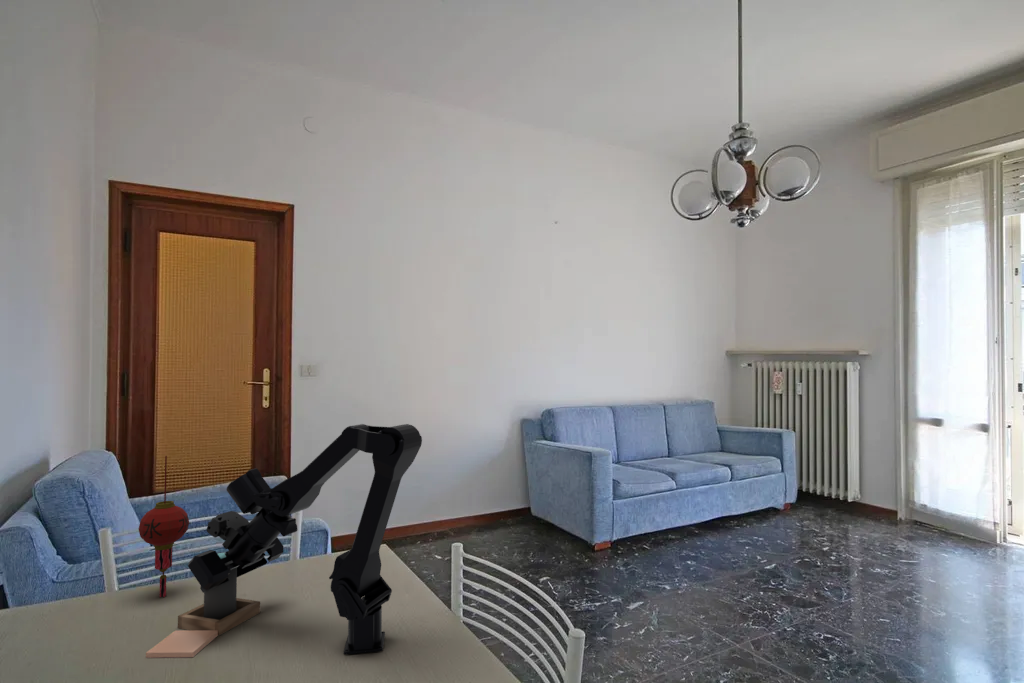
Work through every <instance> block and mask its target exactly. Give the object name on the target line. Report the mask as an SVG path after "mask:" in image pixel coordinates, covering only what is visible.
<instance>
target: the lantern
mask: <svg viewBox="0 0 1024 683" xmlns="http://www.w3.org/2000/svg"><path fill="white" fill-rule="evenodd" d="M164 458H165V459H164V460H165V461H164V463H165V464H164V498H163V499H164V500H163V501H159V502H156V503H155V506H154V507H153V508H152V509H150V510H149V511H147V512H145V514H144V515H143V516H142V518H141V519H140V522H139V525H138V533H139V538H141V540H143V541H144V542H145V543H147V544H148V545H152V546H153V548H154V569H155V570H157V571H159V572H161V573H162V575H160V577H159V596H158V597H159V598H160V597H163V598H165V596H166V597H167V575H166V574H165V572H167V570H168V569H169V568H172V566H173V548H174V545H175V543H176V542H177V541H179V540H180V539H181V538H182V537H183V536H184V535H185V534H186V532H187V531H188V530H189V526H190V520H189V514H188V513H187V512H186V510H185V509H183V507H181V506H177V505H176V503H175V501H174V500H167V467H168V466H167V464H168V463H167V461H168V460H167V459H168V456H167V455H165V456H164Z"/></svg>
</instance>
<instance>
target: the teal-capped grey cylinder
mask: <svg viewBox="0 0 1024 683" xmlns="http://www.w3.org/2000/svg"><path fill="white" fill-rule="evenodd" d="M217 554H218V555H219V557H220V558H221V559H222V558H225V557H226V556H225V552H220V553H217ZM227 578H228V579H229V581H228V582H226V583H224V584H221V585H219V586H217V587H215V588H213V589H211V590H208V591H206V592H204V593H203V604H204V618H210V619H216V620H221V619H223V618H225V617H226V616H228V615H230V614H232V613H234V612H236V598H237V588H238V587H237V586H238V584H237V583H238V582H237V580H238V577H237V567H236V568H233V569H231V572H230V574H228V577H227Z"/></svg>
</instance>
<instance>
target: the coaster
mask: <svg viewBox="0 0 1024 683" xmlns="http://www.w3.org/2000/svg"><path fill="white" fill-rule="evenodd" d="M218 636H219V635H218V631H216V630H192V631H191V630H174V631H173V632H171V633H170V634H168V635H167V636H166V637H165V638H163V639H162V640H160V642H157V644H155V645H154V646H153V647H152V648H150V649H148V650H147V651H146V652H145V658H149V659H150V658H151V659H152V658H194V657H195V656H196V655H198V653H200V652H201V651H202V650H204V648H206V647H207V645H209V643H212V641H213V640H215V639H216V637H218Z"/></svg>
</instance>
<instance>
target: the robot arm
mask: <svg viewBox="0 0 1024 683" xmlns="http://www.w3.org/2000/svg"><path fill="white" fill-rule="evenodd" d="M422 443H423V437H422V435H421V433H420V431H419V430H418V428H416V426H414V425H413V424H409V423H405V424H399V425H394V426H378V425H368V424H365V423H364V424H363V423H361V424H356V425H355V424H354V425H349V426H347V427H345V428H344V429H343V430H342V432H341V433H340V435H339V436H337V437H336V439H334V440H333V441H332V442H331V443H330V444H329V445H328V446H327V447H326V448H325V449H323V451H321V452H320V453H319V454H318V455H317V456H316V457H315V458H314V459H313V460H312V461H311V462H310V463H308V465H307V466H306V467H305V468H304V469H303V470H301V471H299V472H298V473H296V474H294V475H292V476H290V477H288V478H286V479H285V480H283V481H281V482H280V483H278V484H277V485H275V486H274V487H271V486H270V485H269V484H268V482H267V481H266V480H265V478H264V477H263V475H262V474H261V472H260V470H259V469H258V468H257V467H256V468H252V469H248V470H247V472H246V473H244V474H242V475H240V476H239V477H237V478H236V479H235V480H232V481H231V482H230V483H228V485H227V487H226V492H227V493H228V495H229V496H230V497H231V499H232V500H233V501H234V502H235V504H236V505H237V507H238V508H239V510H240V511H241V513H242V514H243V515H246V514H250V515H255V516H254V517H252V519H251V520H250V521H249V519H247V518H245V517H244V516H243V515H241V514H240V513H238V512H237V511H234V510H230V511H226V512H222V513H220V514H217V515H216V516H214V517H212V518H211V520H210V521H209V522H207V526H206V532H207V533H208V534H209V535H210V536H212V537H213V538H217V537H218V538H220V539H222V540H223V543H222V544H221V545H222V547H223V548H224V549H225V550H227V551H226V552H224V553H225V556H226V557H225V558H222V559H221V558H220V557H219V555H218V554H219V553H217V551H216V550H214V549H213V550H211V549H209V550H206V551H204V552H201V553H198V554H195V555H194V556H193V557H192V558H191V559H190V560H189V562H188V564H187V567H188V568H189V570H190V572H191V573H192V575H193V576H194V578H195V579H196V580H197V582H198V584H199V585H200V591H201V592H202V593H203V594H204V592H206V591H208V590H211V589H213V588H215V587H217V586H219V585H221V584H224V583H226V582H228V581H229V579H228V578H227V577H228V574H230V572H231V569H233V568H236V567H237V578H240V577H241V576H243V575H245V574H248V573H250V572H252V571H255V570H256V569H259V568H261V567H264V566H265V565H267V564H268V562H269V563H271V562H272V561H275V560H277V559H279V558H280V557H281V556H282V555H283V553H284V545H283V543H282V541H280V539H279V538H278V537H279V536H280V535H281V536H282V537H286V536H289V535H291V534H293V533H294V534H295V533H297V531H298V525H297V519H296V517H295V518H294V517H292V516H291V515H293V514H296V513H298V512H301V511H304V510H306V509H307V510H308V509H309V508H310V507H311V506H312V505H313V503H314V502H315V501H316V499H317V498H318V496H319V495H320V492H321V489H322V487H323V486H324V485H325V483H327V481H329V480H330V479H331V477H333V476H334V475H335V474H336V473H337V472H338V471H339V470H340V469H342V468H343V466H345V465H346V464H347V463H348V462H349V461H350V460H351V459H353V457H354V456H355V455H356V454H357V453H359V451H361V452H363V453H366V454H367V453H368V454H372V458H371V460H372V463H373V468H374V473H373V478H372V481H371V485H370V488H369V491H368V494H367V498H366V500H365V503H364V508H363V511H362V514H361V516H360V519H359V523H358V527H357V529H356V534H355V537H354V540H353V543H352V547H351V548H350V549H349V550H347V551H345V552H343V553H340V554H339V555H337V556H336V558H335V560H334V565H333V571H332V573H331V574H330V575H329V577H328V578H329V580H331V582H330V592H331V593H333V594H332V595H333V596H334V597H333V598H334V600H335V605H336V608H337V611H338V615H339V617H342V618H345V619H346V621H347V623H348V624H347V625H348V626H347V629H348V630H347V636H346V637H347V638H346V641H345V644H344V648H343V655H352V654H353V655H354V654H365V653H373V652H374V653H377V652H382V651H383V650H384V646H385V644H384V643H385V639H386V638H385V635H386V634H385V633H386V632H385V631H384V630H382V627H383V626H382V624H383V623H382V622H383V620H382V616H383V615H382V614H383V613H382V612H383V611H382V610H383V606H382V605H384V604H385V603H386V602H388V601H389V600H390V598H391V595H392V592H393V589H392V588H391V586H389V584H388V583H387V582H386V580H385V579H384V578H383V577H382V575H381V571H382V561H381V555H380V549H381V545H382V542H383V540H384V539H383V538H384V536H385V532H386V530H387V526H388V522H389V519H390V516H391V513H392V509H393V508H394V503H395V501H396V498H397V493H398V490H399V487H400V485H401V480H402V478H403V476H404V475H405V474H406V472H407V471H408V469H409V468H410V467H411V466H412V464H413V462H414V461H415V459H416V457H417V455H418V453H419V451H420V449H421V446H422ZM266 553H267V555H268V557H267V558H266V557H265V556H266Z"/></svg>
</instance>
